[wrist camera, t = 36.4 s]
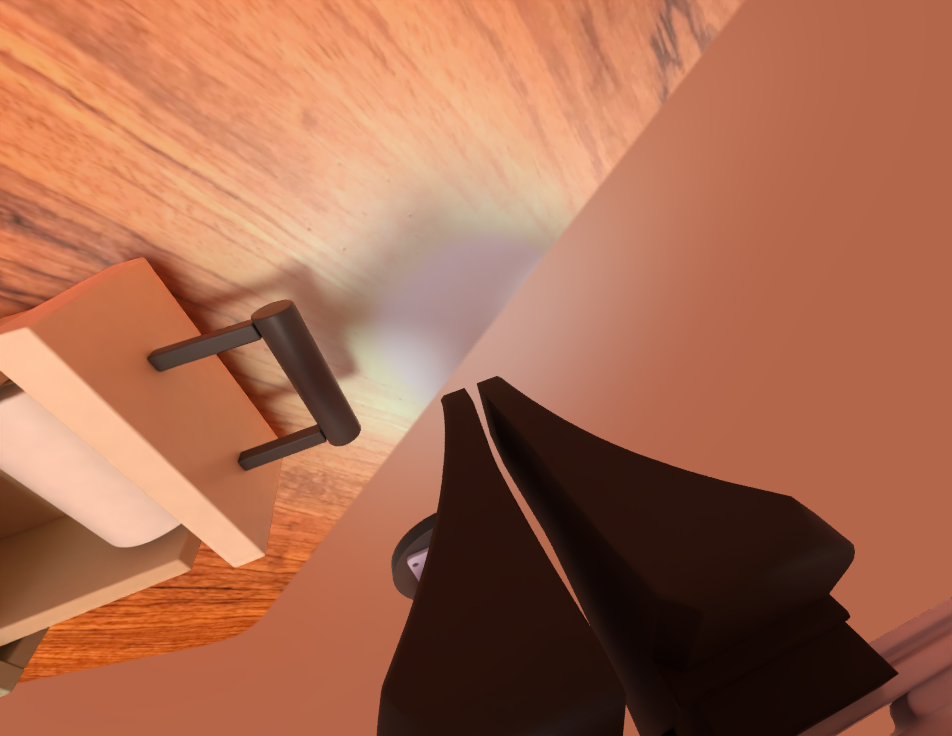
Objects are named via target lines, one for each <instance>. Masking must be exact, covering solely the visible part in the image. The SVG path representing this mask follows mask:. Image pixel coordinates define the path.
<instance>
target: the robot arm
mask: <svg viewBox="0 0 952 736" xmlns="http://www.w3.org/2000/svg"><path fill="white" fill-rule="evenodd" d="M477 386H478V390H479V393H480V397H481V401H482V405H483V409H484V413H485V416H486V420H487V424H488V428H489V431H490V435H491V437H492V439H493V441H494V444H495V446H496V448H497V451H498V453H499V455H500V457H501V459H502V461H503V463H504V465H505V467H506V469H507V470H508V472H509V474H510V476H511V477H512V479H513V481H514V482H515V484H516V485H517V487H518V489H519V491H520V492H521V494H522V495H523V497H524V498H525V500H526V502H527V504H528V505H529V507H530V509H531V510H532V512H533V514H534V515H535V517H536V519H537V520H538V522H539V523H540V525H541V527H542V528H543V530H544V532H545V534H546V536H547V537H548V539H549V541H550V543H551V545H552V547H553V549H554V551H555V553H556V555H557V557H558V559H559V561H560V563H561V565H562V568H563V570H564V572H565V574H566V576H567V578H568V580H569V582H570V584H571V586H572V588H573V590H574V593H575V595H576V597H577V599H578V601H579V603H580V605H581V607H582V609H583V611H584V614H585V616H586V618H587V620H588V622H589V623H588V622H587V620H586V619H585V617H584V615H583V614H582V612H581V611H580V609H579V607H578V606H577V604H576V602H575V601H574V599H573V598H572V596H571V594H570V593H569V591H568V589H567V588H566V586H565V584H564V583H563V581H562V579H561V578H560V576H559V575H558V573H557V571H556V570H555V568H554V566H553V565H552V563H551V561H550V560H549V558H548V556H547V554H546V553H545V551H544V549H543V547H542V546H541V544H540V542H539V541H538V539H537V537H536V535H535V534H534V532H533V530H532V529H531V527H530V525H529V523H528V521H527V520H526V518H525V516H524V514H523V513H522V511H521V509H520V507H519V505H518V503H517V502H516V500H515V498H514V496H513V495H512V493H511V491H510V489H509V487H508V485H507V483H506V481H505V480H504V478H503V476H502V474H501V472H500V470H499V468H498V466H497V464H496V462H495V459H494V457H493V455H492V452H491V449H490V447H489V444H488V441H487V438H486V436H485V433H484V430H483V427H482V425H481V422H480V419H479V417H478V414H477V411H476V409H475V405H474V403H473V401H472V399H471V397H470V396H469V394H468V393H467V391H466V390H465V388H463V389H460V390H458V391H455V392H452V393H450V394H447V395H444V396H443V398H442V399H441V402H442V405H443V411H444V420H445V453H444V465H443V475H442V485H441V492H440V498H439V504H438V509H437V514H436V520H435V524H434V528H433V533H432V537H431V541H430V546H429V547H428V548H426V549H423V550H421V551H418V552H416V553H414V554H411V555H410V556H408V558H407V563H408V565H409V567H410V568H411V570H412V571H413V573H414V575H415V576H416V578H417V579H418V581H419V584H418V587H417V591H416V594H415V597H414V600H413V604H412V607H411V610H410V613H409V616H408V619H407V622H406V624H405V627H404V630H403V632H402V635H401V638H400V641H399V643H398V646H397V648H396V651H395V654H394V656H393V659H392V662H391V664H390V667H389V670H388V672H387V675H386V678H385V680H384V683H383V686H382V690H381V698H380V706H379V715H378V725H377V736H623V729H624V717H625V707H626V705H627V708H628V710H629V712H630V714H631V716H632V719H633V721H634V723H635V726H636V727H637V730H638V732H639V734H640V736H836V735H838V734H840V733H841V732H843V731H845V730H846V729H848V728H850V727H851V726H853V725H855V724H856V723H858V722H860V721H862V720H863V719H865V718H867V717H868V716H870V715H872V714H873V713H874V712H877V711H878V710H880V709H882V708H883V707H885V706H887V705H889V704H890V703H892V704H891V705H890V715H891V717H892V719H893V721H894V724H895V730H894V732H893V733H891V734H890V735H888V736H952V597H951V598H949V599H947V600H945V601H943V602H942V603H940V604H938V605H936V606H935V607H933V608H931V609H929V610H927V611H926V612H924V613H922V614H920V615H918V616H917V617H915V618H913V619H911V620H910V621H908V622H906V623H904V624H902V625H901V626H899V627H897V628H895V629H894V630H892V631H890V632H888V633H886V634H885V635H883V636H881V637H879V638H877V639H876V640H874V641H872V642H870V643H867V642H866V641H865V640H864V639H863V638H862V637H861V636H860V635H858V634H857V633H856V632H855V631H854V630H853V629H852V628H851V627H850V626H849V625H848V624H847V623H846V622H845V621H847V620H848V619H849V618H850V615H849V613H848V611H847V610H846V609H845V608H844V607H843V606H842V605H840V604H839V603H838V602H837V601H836V600H835V599H834V598H833V597H832V596H831V595H830V594H829V593H830V591H831V590H832V589H833V587H834V586H835V585H836V584H837V582H838V581H839V580H840V578H841V577H842V576H843V574H844V573H845V572H846V570H847V569H848V568H849V566H850V564H851V563H852V561H853V559H854V554H855V550H854V545H853V544H852V543H851V542H850V541H849V540H847V539H846V538H845V537H844V536H842V535H841V534H840V533H839V532H837V531H836V530H835V529H834V528H832V527H831V526H830V525H829V524H827V523H826V522H825V521H824V520H822V519H821V518H820V517H819V516H818V515H816V514H815V513H814V512H812V511H811V510H810V509H808V508H807V507H805V506H804V505H802V504H801V503H800V502H798V501H797V500H795V499H794V498H792V497H791V496H787V495H783V494H778V493H774V492H769V491H765V490H761V489H756V488H752V487H747V486H743V485H739V484H735V483H730V482H726V481H722V480H719V479H715V478H712V477H708V476H704V475H701V474H697V473H694V472H690V471H687V470H684V469H681V468H677V467H674V466H671V465H668V464H666V463H663V462H660V461H657V460H654V459H651V458H648V457H646V456H643V455H640V454H637V453H634V452H632V451H629V450H627V449H624V448H622V447H620V446H617V445H615V444H612V443H610V442H608V441H606V440H604V439H601V438H599V437H597V436H595V435H593V434H591V433H589V432H587V431H585V430H583V429H581V428H579V427H577V426H575V425H573V424H572V423H570V422H568V421H566V420H564V419H563V418H561V417H559V416H557V415H556V414H554V413H552V412H551V411H549V410H547V409H546V408H544V407H543V406H541V405H539V404H538V403H536V402H535V401H533V400H531V399H530V398H528V397H527V396H525V395H524V394H523V393H521V392H520V391H518V390H517V389H516V388H514V387H513V386H511V385H510V384H509V383H507V382H506V381H505V380H503V379H502V378H500V377H498V376H496V377H493V378H490V379H487V380H485V381H482V382H479V383H477ZM589 624H590V625H589Z"/></svg>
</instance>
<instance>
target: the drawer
mask: <svg viewBox="0 0 952 736" xmlns="http://www.w3.org/2000/svg"><path fill="white" fill-rule="evenodd" d="M262 337H263V339H264V340H265V342H266V344H267V345H268V347H269V348H270V350H271V351H272V353H273V355H274V356H275V358H276V359H277V361H278V363H279V364H280V366H281V367H282V369H283V370H284V372H285V374H286V375H287V377H288V378H289V380H290V381H291V383H292V385H293V386H294V388H295V389H296V391H297V392H298V394H299V396H300V397H301V399H302V400H303V402H304V404H305V405H306V407H307V408H308V410H309V411H310V413H311V415H312V416H313V418H314V419H315V421H316V422H317V425H314V426H311V427H309V428H306V429H303V430H300V431H298V432H295V433H292V434H289V435H287V436H284V437H281V438H278V437H277V436H276V435H275V433H274V432H273V430H272V429H271V428H270V426H269V425H268V424H267V422H266V421H265V420H264V418H263V417H262V416H261V414H260V413H259V412H258V410H257V409H256V408H255V406H254V405H253V404H252V402H251V401H250V399H249V398H248V397H247V395H246V394H245V393H244V391H243V390H242V389H241V387H240V386H239V385H238V383H237V382H236V381H235V379H234V378H233V377H232V375H231V374H230V373H229V371H228V370H227V368H226V367H225V366H224V364H223V363H222V362H221V360H220V359H219V358H218V356H217V355H216V354H217V353H220V352H223V351H227V350H230V349H233V348H236V347H239V346H242V345H245V344H248V343H251V342H254V341H257V340H260V339H261V338H262ZM8 379H11V380H12V381H13V382H14V383H16V384H17V385H18V386H19V387H20V388H22V389H23V390H24V391H25V392H26V393H27V394H29V395H30V396H31V397H32V398H33V399H35V400H36V401H37V402H38V403H39V404H41V405H42V406H43V407H44V408H45V409H46V410H48V411H49V412H50V413H51V414H52V415H54V416H55V417H56V418H57V419H58V420H59V421H61V422H62V423H63V424H64V425H65V426H67V427H68V428H69V429H70V430H71V431H73V432H74V433H75V434H76V435H77V436H78V437H80V438H81V439H82V440H83V441H84V442H86V443H87V444H88V445H89V446H90V447H91V448H93V449H94V450H95V451H96V452H97V453H99V454H100V455H101V456H102V457H103V458H105V459H106V460H107V461H108V462H109V463H110V464H112V465H113V466H114V467H115V468H116V469H118V470H119V471H120V472H121V473H122V474H123V475H125V476H126V477H127V478H128V479H129V480H131V481H132V482H133V483H134V484H135V485H137V486H138V487H139V488H140V489H141V490H142V491H144V492H145V493H146V494H147V495H148V496H150V497H151V498H152V499H153V500H154V501H155V502H157V503H158V504H159V505H160V506H161V507H163V508H164V509H165V510H166V511H167V512H169V513H170V514H171V515H172V516H173V517H174V518H176V519H177V520H178V521H179V522H180V523H181V524H180V525H179V526H177V527H176V528H174V529H173V530H171V531H169V532H168V533H166V534H164V535H162V536H160V537H159V538H157V539H154V540H152V541H150V542H147V543H144V544H142V545H138V546H134V547H116V546H113V545H111V544H110V543H108V542H107V541H105V540H104V539H103V538H101V537H100V536H98V535H97V534H95V533H94V532H92V531H91V530H89V529H88V528H86V527H85V526H83V525H82V524H80V523H79V522H78V521H76V520H75V519H73V518H72V517H70V516H69V515H67V514H66V513H64V512H63V511H61V510H60V509H58V508H57V507H56V506H54V505H53V504H51V503H50V502H48V501H47V500H45V499H44V498H42V497H41V496H39V495H38V494H36V493H35V492H33V491H32V490H31V489H29V488H28V487H26V486H25V485H23V484H22V483H20V482H19V481H17V480H16V479H14V478H13V477H11V476H10V475H9V474H7V473H6V472H4V471H3V470H1V469H0V646H2V645H5V644H7V643H10V642H12V641H15V640H17V639H20V638H22V637H25V636H27V635H30V634H32V633H35V632H37V631H40V630H42V629H45V628H47V627H50V626H52V625H55V624H57V623H60V622H62V621H65V620H68V619H70V618H73V617H75V616H78V615H80V614H83V613H85V612H88V611H90V610H93V609H95V608H98V607H100V606H103V605H105V604H108V603H110V602H113V601H115V600H118V599H120V598H123V597H125V596H128V595H130V594H133V593H135V592H138V591H140V590H143V589H145V588H148V587H150V586H153V585H155V584H158V583H160V582H163V581H166V580H168V579H171V578H173V577H176V576H178V575H181V574H183V573H186V572H188V571H190V570H191V569H192V567H193V564H194V561H195V558H196V555H197V552H198V549H199V546H200V544H201V541H203V542H204V543H205V544H206V545H208V546H209V547H210V548H211V549H212V550H214V551H215V552H216V553H217V554H218V555H219V556H221V557H222V558H223V559H224V560H225V561H227V562H228V563H229V564H230V565H231V566H233V567H234V568H236V567H239V566H241V565H244V564H246V563H249V562H251V561H254V560H256V559H259V558H261V557H264V556H265V555H266V550H267V544H268V538H269V533H270V527H271V521H272V516H273V510H274V504H275V499H276V493H277V488H278V482H279V476H280V471H281V465H282V459H283V457H286V456H289V455H291V454H294V453H297V452H300V451H302V450H305V449H308V448H310V447H313V446H316V445H318V444H321V443H324V442H326V439H327V440H328V441H329V443H330V444H331V445H333V446H343V445H346V444H348V443H350V442H352V441H353V440H354V439H355V438H356V437H357V436H358V435H359V433H360V431H361V426H360V424H359V422H358V420H357V418H356V416H355V414H354V413H353V411H352V409H351V407H350V405H349V403H348V402H347V400H346V398H345V396H344V394H343V392H342V390H341V389H340V387H339V385H338V383H337V381H336V379H335V378H334V376H333V374H332V372H331V370H330V368H329V366H328V365H327V363H326V361H325V359H324V357H323V355H322V354H321V352H320V350H319V348H318V346H317V344H316V342H315V341H314V339H313V337H312V335H311V333H310V331H309V330H308V328H307V326H306V324H305V322H304V320H303V319H302V317H301V315H300V313H299V311H298V309H297V307H296V306H295V304H294V302H293V301H291V300H281V301H277V302H273V303H270V304H268V305H266V306H264V307H262V308H260V309H258V310H257V311H256V312H254V313H253V314H252V316H251V320H247V321H244V322H241V323H238V324H235V325H232V326H228V327H225V328H222V329H219V330H216V331H213V332H209V333H206V334H203V335H201V333H200V332H199V331H198V329H197V328H196V327H195V325H194V324H193V323H192V321H191V320H190V319H189V317H188V316H187V315H186V313H185V312H184V311H183V309H182V308H181V306H180V305H179V304H178V302H177V301H176V300H175V298H174V297H173V296H172V294H171V293H170V292H169V290H168V289H167V288H166V286H165V285H164V284H163V282H162V281H161V280H160V278H159V277H158V275H157V274H156V273H155V271H154V270H153V269H152V267H151V266H150V265H149V263H148V262H147V261H146V259H145V258H143V257H141V258H137V259H134V260H130V261H126V262H123V263H119V264H116V265H112V266H109V267H108V268H106V269H104V270H102V271H100V272H98V273H97V274H95V275H93V276H91V277H89V278H88V279H86V280H84V281H82V282H80V283H79V284H77V285H75V286H73V287H71V288H69V289H68V290H66V291H64V292H62V293H60V294H59V295H57V296H55V297H53V298H51V299H49V300H48V301H46V302H44V303H42V304H40V305H39V306H37V307H35V308H33V309H31V310H27V311H24V312H21V313H17V314H14V315H10V316H7V317H3V318H0V385H1V384H3V383H4V382H6V381H7V380H8Z"/></svg>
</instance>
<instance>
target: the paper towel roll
mask: <svg viewBox="0 0 952 736" xmlns="http://www.w3.org/2000/svg"><path fill="white" fill-rule="evenodd" d="M0 469H1V470H3V471H4V472H6V473H7V474H9V475H10V476H11V477H13V478H14V479H16V480H17V481H19V482H20V483H22V484H23V485H25V486H26V487H28V488H29V489H31V490H32V491H33V492H35V493H36V494H38V495H39V496H41V497H42V498H44V499H45V500H47V501H48V502H50V503H51V504H53V505H54V506H56V507H57V508H58V509H60V510H61V511H63V512H64V513H66V514H67V515H69V516H70V517H72V518H73V519H75V520H76V521H78V522H79V523H80V524H82V525H83V526H85V527H86V528H88V529H89V530H91V531H92V532H94V533H95V534H97V535H98V536H100V537H101V538H103V539H104V540H105V541H107V542H108V543H110V544H111V545H113V546H116V547H134V546H138V545H142V544H144V543H147V542H150V541H152V540H154V539H157V538H159V537H160V536H162V535H164V534H166V533H168V532H169V531H171V530H173V529H174V528H176V527H177V526H179V525H180V524H181V523H180V522H179V521H178V520H177V519H176V518H174V517H173V516H172V515H171V514H170V513H169V512H167V511H166V510H165V509H164V508H163V507H161V506H160V505H159V504H158V503H157V502H155V501H154V500H153V499H152V498H151V497H150V496H148V495H147V494H146V493H145V492H144V491H142V490H141V489H140V488H139V487H138V486H137V485H135V484H134V483H133V482H132V481H131V480H129V479H128V478H127V477H126V476H125V475H123V474H122V473H121V472H120V471H119V470H118V469H116V468H115V467H114V466H113V465H112V464H110V463H109V462H108V461H107V460H106V459H105V458H103V457H102V456H101V455H100V454H99V453H97V452H96V451H95V450H94V449H93V448H91V447H90V446H89V445H88V444H87V443H86V442H84V441H83V440H82V439H81V438H80V437H78V436H77V435H76V434H75V433H74V432H73V431H71V430H70V429H69V428H68V427H67V426H65V425H64V424H63V423H62V422H61V421H59V420H58V419H57V418H56V417H55V416H54V415H52V414H51V413H50V412H49V411H48V410H46V409H45V408H44V407H43V406H42V405H41V404H39V403H38V402H37V401H36V400H35V399H33V398H32V397H31V396H30V395H29V394H27V393H26V392H25V391H24V390H23V389H22V388H20V387H19V386H18V385H17V384H16V383H14V382H13V381H12V380H11V379H8V380H7V381H6V382H4V383H3V384H1V385H0Z"/></svg>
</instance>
